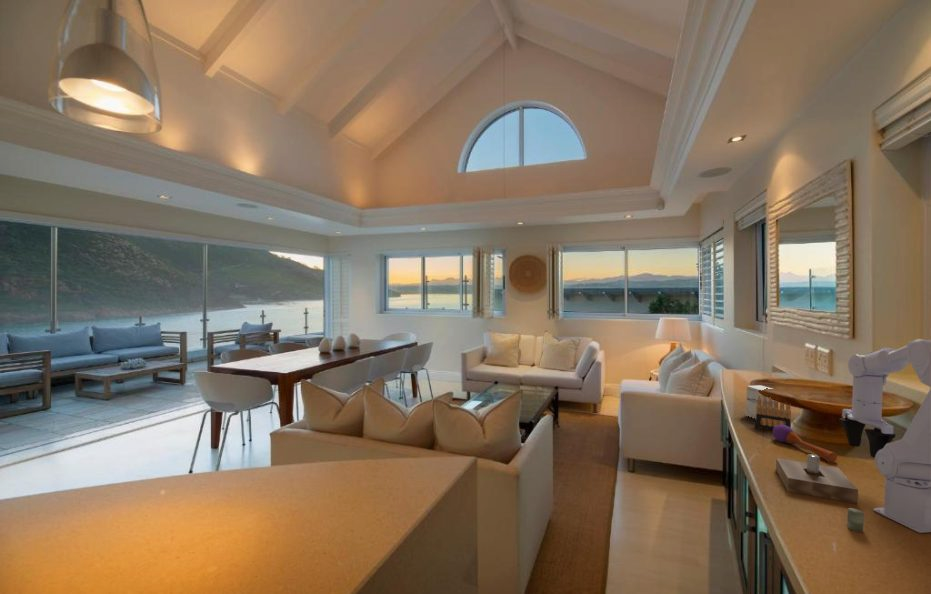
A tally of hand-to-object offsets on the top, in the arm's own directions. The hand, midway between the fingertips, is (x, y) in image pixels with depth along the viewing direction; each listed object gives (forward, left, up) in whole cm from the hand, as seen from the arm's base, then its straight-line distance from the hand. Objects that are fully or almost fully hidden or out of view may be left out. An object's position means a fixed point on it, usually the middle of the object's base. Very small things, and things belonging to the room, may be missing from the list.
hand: (865, 451), depth 112 cm
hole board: (+3, +12, -10) cm, 16 cm away
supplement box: (+56, -21, -10) cm, 61 cm away
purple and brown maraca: (+25, -8, -10) cm, 29 cm away
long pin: (+3, +12, -10) cm, 16 cm away
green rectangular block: (-16, +22, -10) cm, 29 cm away
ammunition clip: (+44, -15, -10) cm, 48 cm away
